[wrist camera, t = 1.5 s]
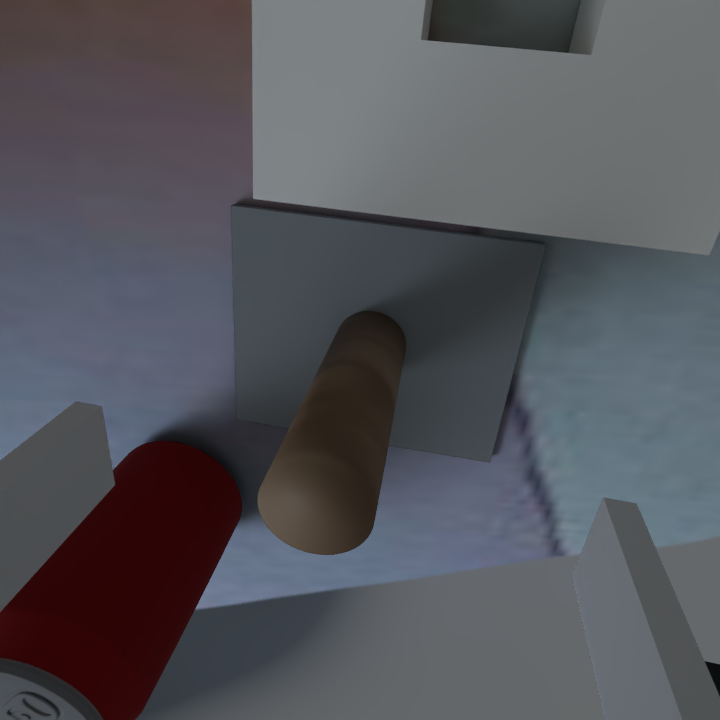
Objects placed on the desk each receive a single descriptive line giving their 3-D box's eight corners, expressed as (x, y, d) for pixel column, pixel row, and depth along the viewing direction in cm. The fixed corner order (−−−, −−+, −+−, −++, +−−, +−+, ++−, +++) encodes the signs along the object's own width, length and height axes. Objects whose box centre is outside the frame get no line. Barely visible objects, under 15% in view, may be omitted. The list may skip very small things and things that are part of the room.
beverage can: (107, 479, 28) (-98, 703, 18) (166, 407, 26) (-36, 624, 15) (205, 549, 30) (68, 797, 19) (272, 488, 27) (156, 741, 16)
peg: (333, 369, 23) (257, 543, 14) (338, 305, 21) (256, 452, 12) (401, 380, 22) (368, 564, 13) (410, 316, 21) (380, 474, 12)
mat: (239, 415, 25) (236, 419, 25) (234, 203, 20) (230, 205, 20) (489, 457, 24) (490, 462, 23) (544, 242, 19) (546, 245, 19)
